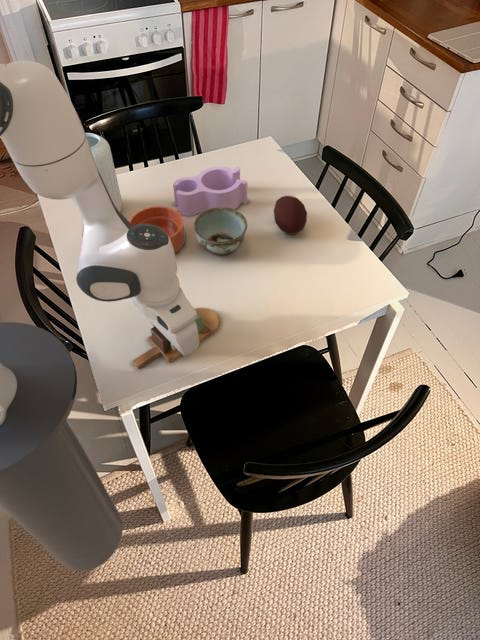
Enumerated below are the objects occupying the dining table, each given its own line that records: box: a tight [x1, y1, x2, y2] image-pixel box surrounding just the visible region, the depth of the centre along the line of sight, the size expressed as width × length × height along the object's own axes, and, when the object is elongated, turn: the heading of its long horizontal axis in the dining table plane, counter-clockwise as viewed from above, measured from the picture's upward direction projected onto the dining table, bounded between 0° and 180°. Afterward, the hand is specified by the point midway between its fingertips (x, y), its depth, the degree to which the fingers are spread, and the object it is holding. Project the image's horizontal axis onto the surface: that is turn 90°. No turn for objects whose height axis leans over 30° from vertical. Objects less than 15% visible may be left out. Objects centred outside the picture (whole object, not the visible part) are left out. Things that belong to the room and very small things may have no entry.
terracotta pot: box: [128, 205, 186, 253], centre depth 132 cm, size 14×14×6 cm
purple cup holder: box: [172, 166, 248, 217], centre depth 142 cm, size 20×12×7 cm, turn 108°
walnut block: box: [149, 326, 172, 354], centre depth 109 cm, size 4×4×4 cm
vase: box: [85, 132, 123, 213], centre depth 133 cm, size 12×12×22 cm
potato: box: [273, 195, 308, 235], centre depth 134 cm, size 9×12×9 cm
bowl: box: [193, 207, 248, 256], centre depth 129 cm, size 14×13×8 cm
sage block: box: [194, 312, 203, 332], centre depth 112 cm, size 4×4×4 cm
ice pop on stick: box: [132, 307, 220, 369], centre depth 113 cm, size 22×8×1 cm, turn 131°
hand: (166, 338), depth 110 cm, fingers closed on walnut block, 4 cm apart
